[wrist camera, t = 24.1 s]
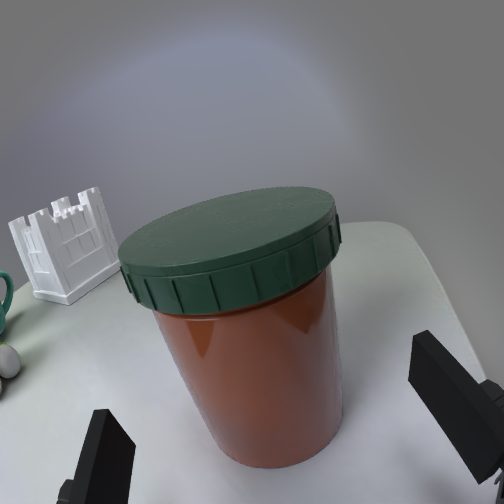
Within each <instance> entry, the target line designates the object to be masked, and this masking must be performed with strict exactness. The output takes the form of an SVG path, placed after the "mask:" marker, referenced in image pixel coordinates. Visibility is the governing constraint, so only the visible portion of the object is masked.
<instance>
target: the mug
mask: <svg viewBox="0 0 504 504" xmlns="http://www.w3.org/2000/svg"><path fill="white" fill-rule="evenodd" d="M0 277H2V278H4V280H5V281H6V285H7V294H6V298H5V300H4V303H3V305H2V304H1V302H0V336H1V333H2V331H3V329H4V326H5V315H6V314H7V312H8V310H9V308H10V305H11V302H12V298H13V282H12V279H11V277H10V276H9V274H8V273H6V272H5V271H0Z"/></svg>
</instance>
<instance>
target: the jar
mask: <svg viewBox="0 0 504 504" xmlns="http://www.w3.org/2000/svg"><path fill="white" fill-rule="evenodd" d="M152 311H153V314H154V316H155V319H156V321H157V323H158V326H159V328H160V330H161V333H162V335H163V337H164V340H165V342H166V344H167V346H168V349H169V351H170V353H171V355H172V357H173V360H174V362H175V364H176V366H177V368H178V370H179V372H180V374H181V377H182V379H183V381H184V383H185V385H186V387H187V389H188V391H189V393H190V395H191V397H192V399H193V401H194V403H195V405H196V407H197V408H198V410H199V412H200V414H201V416H202V418H203V420H204V422H205V424H206V425H207V427H208V429H209V431H210V433H211V435H212V436H213V438H214V440H215V442H216V444H217V445H218V446H219V448H220V449H221V450H222V451H223V452H224V453H225V454H226V455H227V456H229V457H230V458H232V459H233V460H235V461H237V462H239V463H241V464H245V465H248V466H251V467H257V468H280V467H286V466H290V465H294V464H297V463H300V462H302V461H304V460H306V459H308V458H310V457H312V456H314V455H315V454H317V453H318V452H319V451H321V450H322V449H323V448H324V447H325V446H326V445H327V444H328V443H329V442H330V441H331V440H332V438H333V437H334V436H335V434H336V432H337V431H338V429H339V426H340V424H341V421H342V416H343V399H342V380H341V365H340V351H339V339H338V327H337V317H336V307H335V297H334V288H333V280H332V271H331V263H330V264H329V265H328V266H327V267H326V268H325V269H323V270H322V271H321V272H320V273H319V274H317V275H316V276H314V277H313V278H311V279H310V280H308V281H307V282H305V283H303V284H302V285H300V286H298V287H296V288H294V289H292V290H290V291H288V292H285V293H283V294H281V295H279V296H276V297H274V298H271V299H268V300H265V301H262V302H259V303H256V304H252V305H249V306H245V307H241V308H237V309H232V310H227V311H222V312H215V313H206V314H188V315H183V314H169V313H163V312H158V311H155V310H152Z"/></svg>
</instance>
